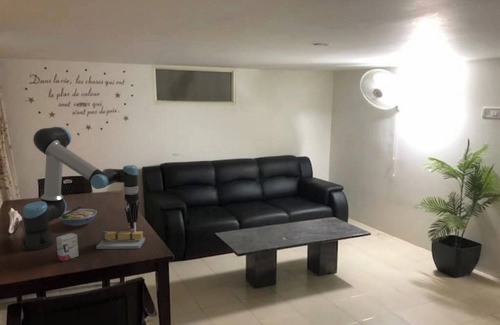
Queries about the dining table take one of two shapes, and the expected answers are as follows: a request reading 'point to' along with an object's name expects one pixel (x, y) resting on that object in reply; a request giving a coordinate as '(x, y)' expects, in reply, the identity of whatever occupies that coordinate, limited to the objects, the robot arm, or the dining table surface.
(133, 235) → the banded tan post
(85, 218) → the ramen bowl
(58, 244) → the ink box
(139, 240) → the power panel
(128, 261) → the dining table surface
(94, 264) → the dining table surface
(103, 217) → the dining table surface
